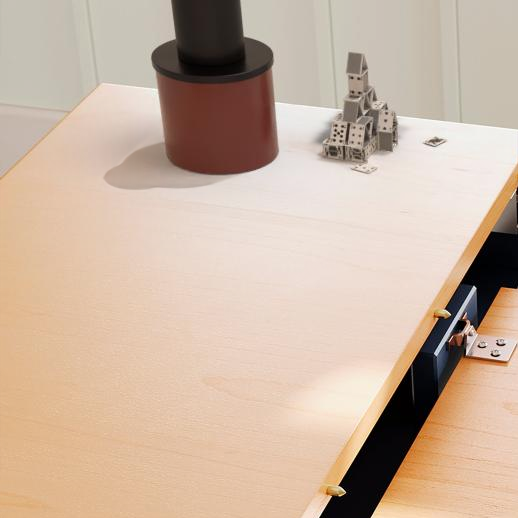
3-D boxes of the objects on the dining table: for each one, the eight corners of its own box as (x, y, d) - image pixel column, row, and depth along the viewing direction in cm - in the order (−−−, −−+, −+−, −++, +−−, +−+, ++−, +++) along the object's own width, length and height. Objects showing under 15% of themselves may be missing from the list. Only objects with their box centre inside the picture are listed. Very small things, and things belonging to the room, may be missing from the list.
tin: (158, 176, 123) (145, 76, 118) (169, 129, 130) (157, 33, 125) (279, 175, 124) (270, 76, 119) (283, 129, 131) (275, 34, 126)
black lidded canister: (173, 66, 119) (160, -41, 114) (179, 42, 124) (166, -63, 119) (244, 67, 120) (234, -40, 115) (248, 42, 124) (238, -62, 119)
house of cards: (416, 180, 124) (414, 86, 120) (313, 165, 126) (307, 72, 121) (449, 138, 131) (448, 47, 127) (351, 124, 133) (346, 34, 128)
